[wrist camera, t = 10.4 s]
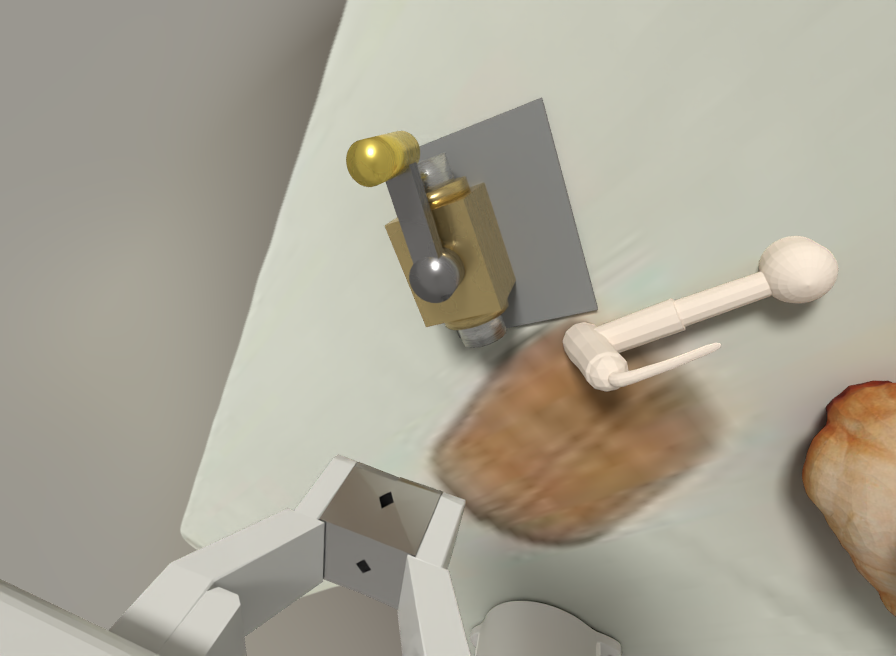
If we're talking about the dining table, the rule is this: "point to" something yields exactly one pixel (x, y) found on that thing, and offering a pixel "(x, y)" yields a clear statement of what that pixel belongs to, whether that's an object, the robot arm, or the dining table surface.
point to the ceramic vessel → (859, 480)
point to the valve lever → (408, 210)
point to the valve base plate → (525, 210)
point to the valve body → (463, 255)
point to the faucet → (698, 312)
